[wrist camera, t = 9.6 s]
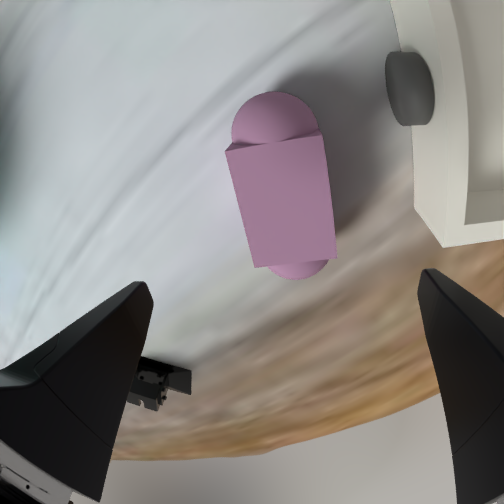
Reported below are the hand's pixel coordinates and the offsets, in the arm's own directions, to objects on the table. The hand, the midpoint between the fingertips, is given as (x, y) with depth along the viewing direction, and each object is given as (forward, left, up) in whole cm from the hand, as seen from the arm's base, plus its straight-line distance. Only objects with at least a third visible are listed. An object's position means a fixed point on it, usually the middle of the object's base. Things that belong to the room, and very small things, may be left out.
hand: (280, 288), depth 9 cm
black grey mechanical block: (+19, -18, -11) cm, 28 cm away
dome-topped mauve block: (0, 0, -11) cm, 11 cm away
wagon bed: (-5, +16, -11) cm, 20 cm away
